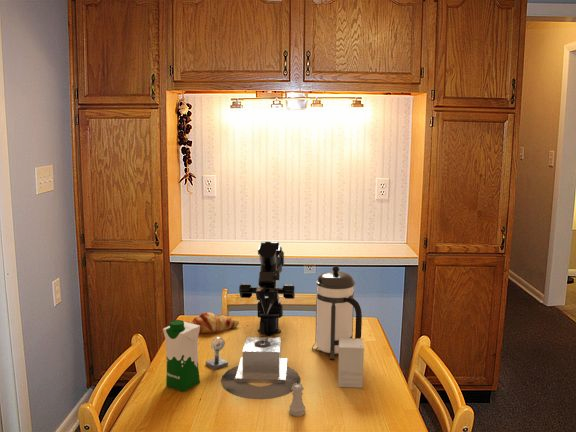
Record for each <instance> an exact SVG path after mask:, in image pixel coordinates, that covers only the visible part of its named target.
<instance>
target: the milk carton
mask: <svg viewBox="0 0 576 432" xmlns="http://www.w3.org/2000/svg"><path fill="white" fill-rule="evenodd" d="M199 330H200V325H196V324H192V323H188V321H184V320H181V319H174V320H172V321H169V325H168V326H166V327H164V328H162V331H163V335H164V339H165V350H166V351H165V352H166V354H165V355H166V357H165V358H166V380H165V382H166V383H165V385H166V386H165V387H168V388H169V389H173V390H176V391H180V392H183V393H185V392H188V390H191V389H192V388H193V387H195V386H197V385H198V384H200V383H201V379H200V378H201V377H200V371H199V370H200V369H199V347H198V346H199V343H198V341H199V334H200V333H199Z"/></svg>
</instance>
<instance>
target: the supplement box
mask: <svg viewBox="0 0 576 432" xmlns="http://www.w3.org/2000/svg"><path fill="white" fill-rule="evenodd" d="M364 356H365V347H364V341H363V338H361V339H355V337H354V338H339V353H338V368H337V370H338V371H337V372H338V373H337V374H338V375H337V377H338V378H337V379H338V388H357V389H363V387H364V386H363V385H364V359H365V358H364Z"/></svg>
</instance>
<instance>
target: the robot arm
mask: <svg viewBox="0 0 576 432" xmlns="http://www.w3.org/2000/svg"><path fill="white" fill-rule="evenodd" d="M257 255H259V262H260V271H259V272H258V273H259V274H258V286H256V287H252V283H240V285H239V287H238V288H239V289H238V291H239V296H240V298H242V299H250V298H251V297H252V296H253V294H255V299H256V300H257V318H260V321H259V329H257V332H259V334H260V333H261V334H263V335H265V336H266V337H270V336H273V335H277V334H279V333H282V330H281V329H280V328H279V319H281V318H282V317H284V316H283V314H284V312H283V311H284V310H283V309H284V306H283V304H282V302H281V301H280V296H279V295H283V299H284V298H285V299H286V300H288V299H289V300H293V299H295V298H296V297H295V294H296V293H295V292H296V290H295V289H296V288H295V285H294V284H289V283H287V284H285V283H283V284H282V287H281V288H280V287H277V286H278V285H277V284H278V281H280V279H281V277H280V274H281V272H282V271H283V267H285V252H284V251H283V247H282V246H281V244H280V243H279V241H272V240H271V241H263V240H262V241H261V242H260V244H258V249H257Z"/></svg>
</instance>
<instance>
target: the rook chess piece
mask: <svg viewBox="0 0 576 432" xmlns="http://www.w3.org/2000/svg"><path fill="white" fill-rule="evenodd" d="M291 389H292V390H293V392H291V393H292V400H291V401H292V402H291V403H290V405H289V408H288V412H289V414H290V415H291V416H293V417H302V416H303V415H305V414H306V406H305V404H304V401H303V395H304V394H303V391H304V386H303V384H302V383H301V382H300V383H299V384H297V383H295V384H293V386H292V388H291Z"/></svg>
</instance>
